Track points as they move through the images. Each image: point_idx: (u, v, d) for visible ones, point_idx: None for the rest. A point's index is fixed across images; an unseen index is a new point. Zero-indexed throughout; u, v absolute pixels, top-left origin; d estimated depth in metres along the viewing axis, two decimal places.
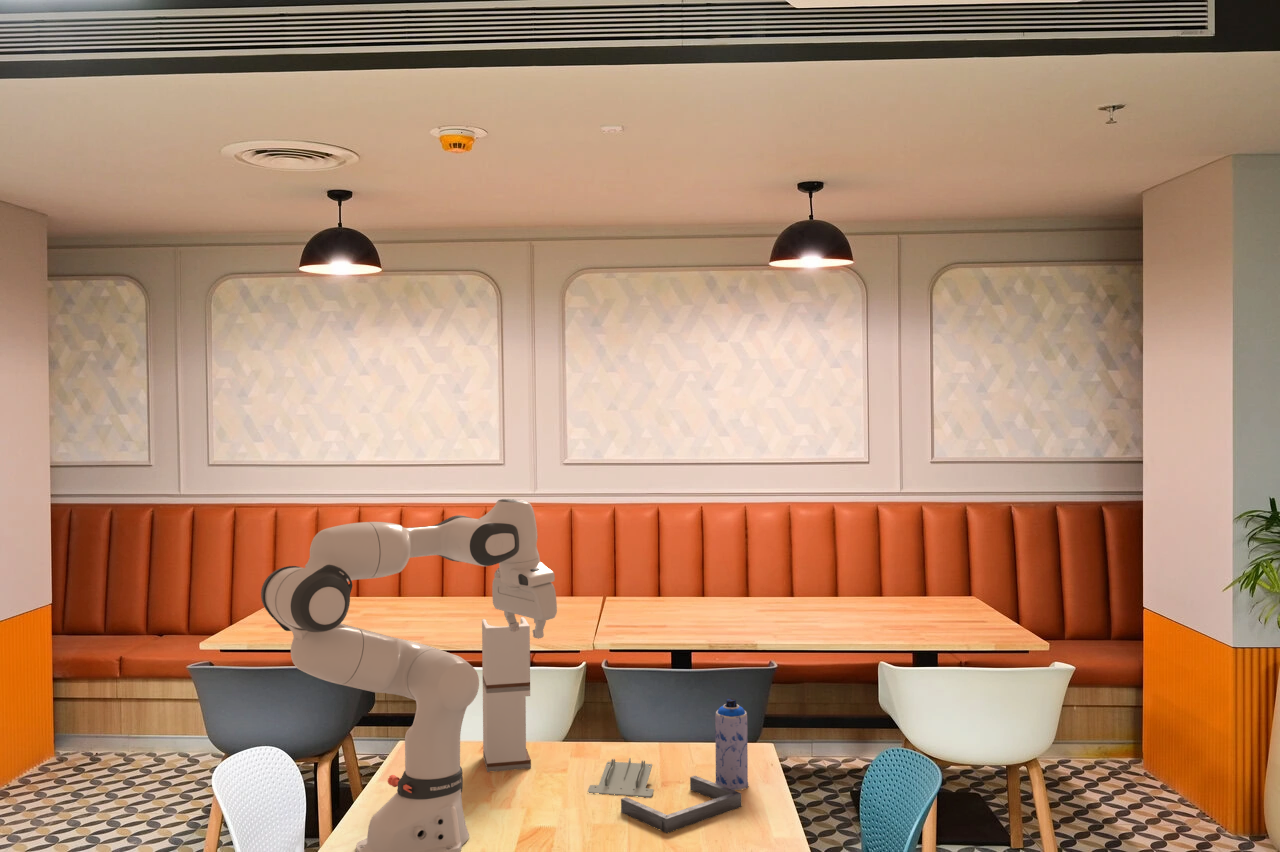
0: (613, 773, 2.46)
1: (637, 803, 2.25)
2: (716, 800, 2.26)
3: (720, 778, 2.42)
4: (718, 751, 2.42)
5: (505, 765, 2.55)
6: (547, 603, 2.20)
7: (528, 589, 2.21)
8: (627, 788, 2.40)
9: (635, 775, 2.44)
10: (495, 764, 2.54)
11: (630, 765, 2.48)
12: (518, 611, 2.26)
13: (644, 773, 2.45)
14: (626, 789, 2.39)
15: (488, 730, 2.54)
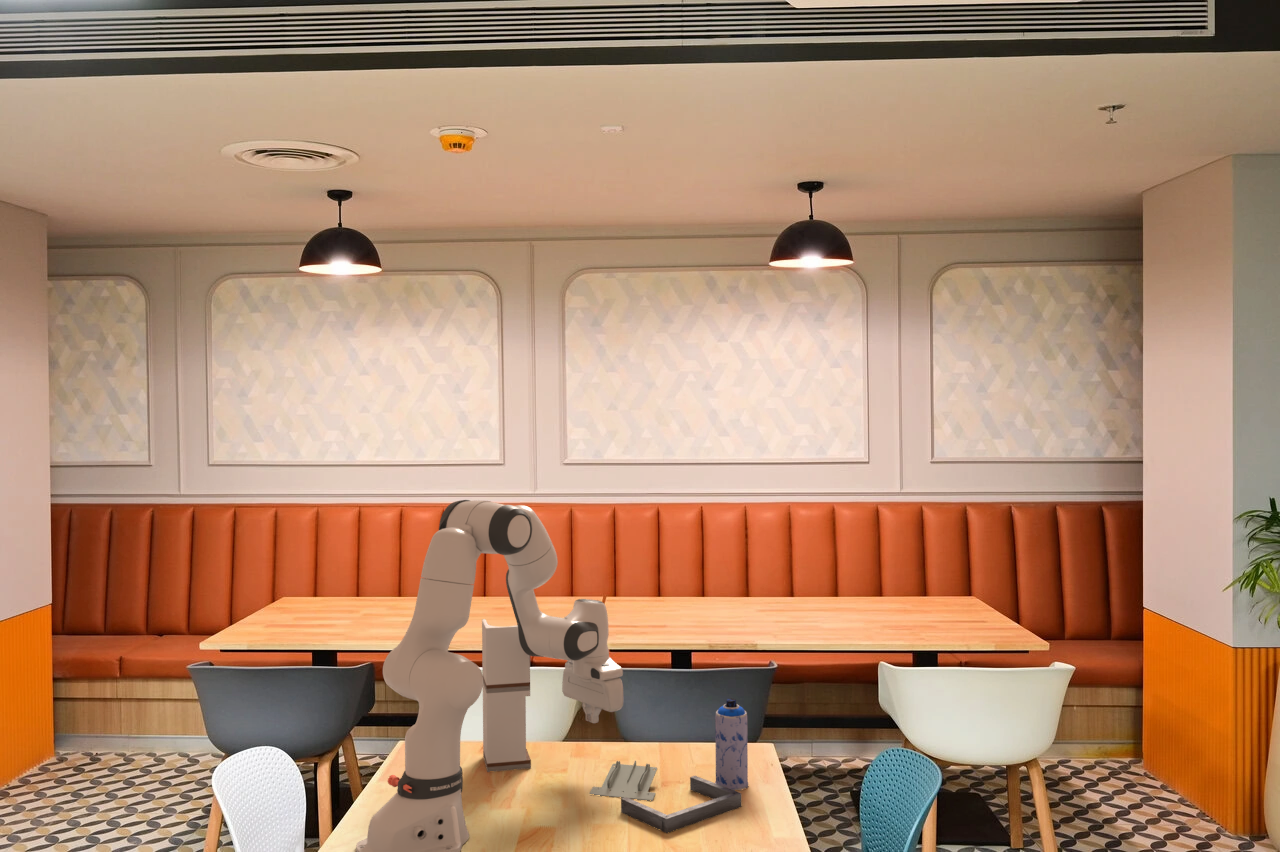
0: (617, 775, 2.44)
1: (637, 803, 2.25)
2: (716, 800, 2.26)
3: (720, 778, 2.42)
4: (718, 751, 2.42)
5: (505, 765, 2.55)
6: (615, 696, 2.46)
7: (599, 682, 2.47)
8: (629, 791, 2.38)
9: (639, 778, 2.43)
10: (495, 764, 2.54)
11: (635, 768, 2.47)
12: (587, 700, 2.52)
13: (648, 776, 2.43)
14: (628, 792, 2.38)
15: (488, 730, 2.54)
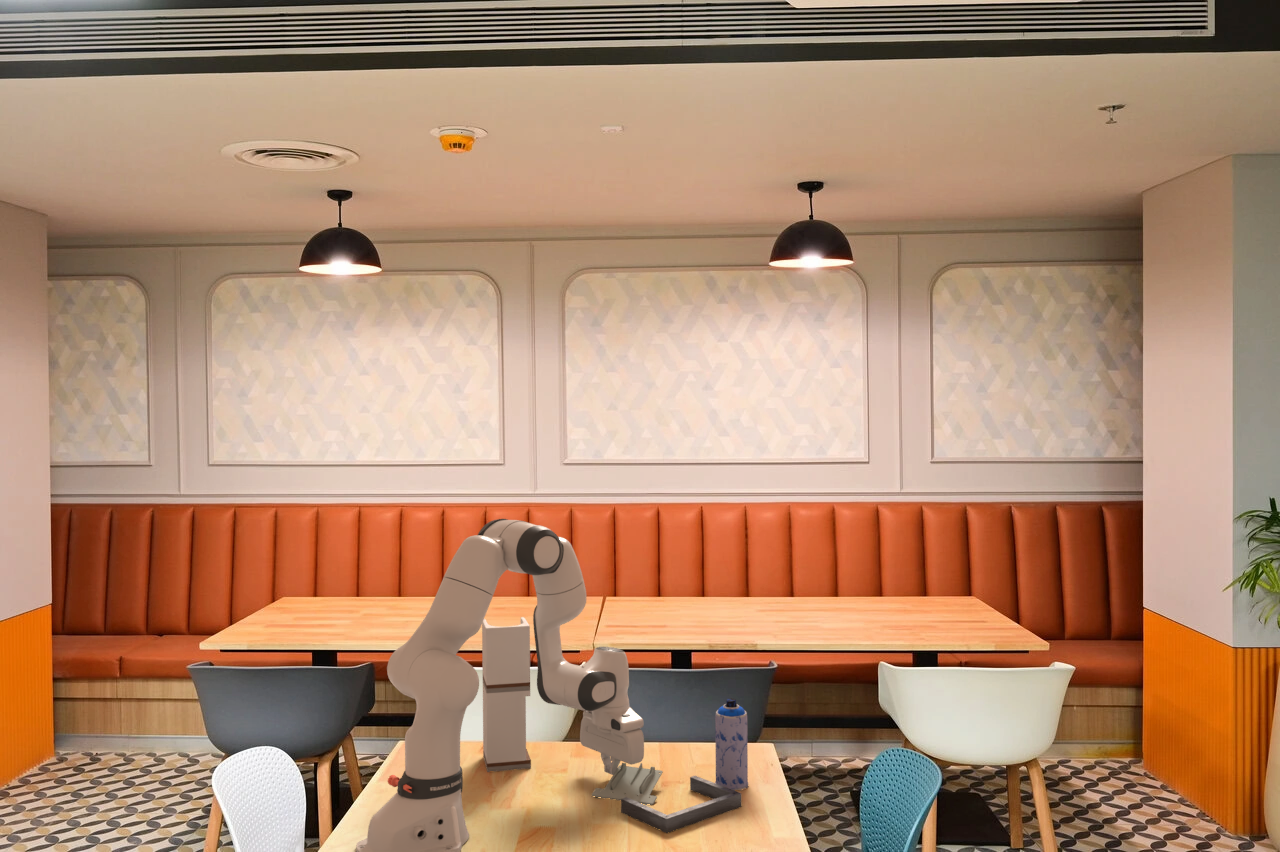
0: (622, 777, 2.43)
1: (637, 803, 2.25)
2: (716, 800, 2.26)
3: (720, 778, 2.42)
4: (718, 751, 2.42)
5: (505, 765, 2.55)
6: (636, 748, 2.40)
7: (619, 734, 2.41)
8: (631, 794, 2.36)
9: (643, 781, 2.41)
10: (495, 764, 2.54)
11: (640, 770, 2.45)
12: (606, 752, 2.46)
13: (652, 779, 2.41)
14: (630, 794, 2.36)
15: (488, 730, 2.54)
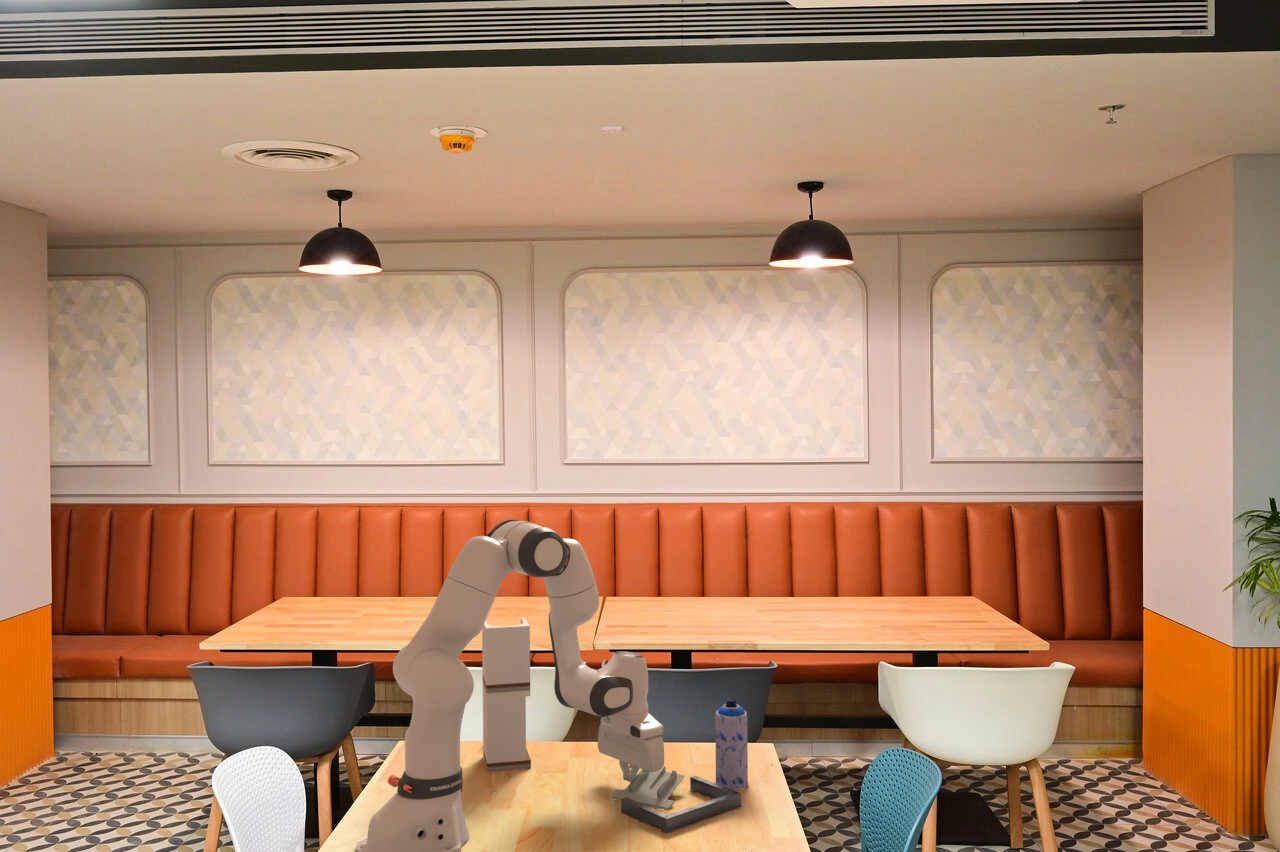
0: (643, 780, 2.41)
1: (637, 803, 2.25)
2: (716, 800, 2.26)
3: (720, 778, 2.42)
4: (718, 751, 2.42)
5: (505, 765, 2.55)
6: (656, 756, 2.35)
7: (639, 741, 2.36)
8: (649, 797, 2.34)
9: None
10: (495, 764, 2.54)
11: (663, 774, 2.42)
12: (625, 759, 2.41)
13: (672, 784, 2.38)
14: (647, 798, 2.34)
15: (488, 730, 2.54)
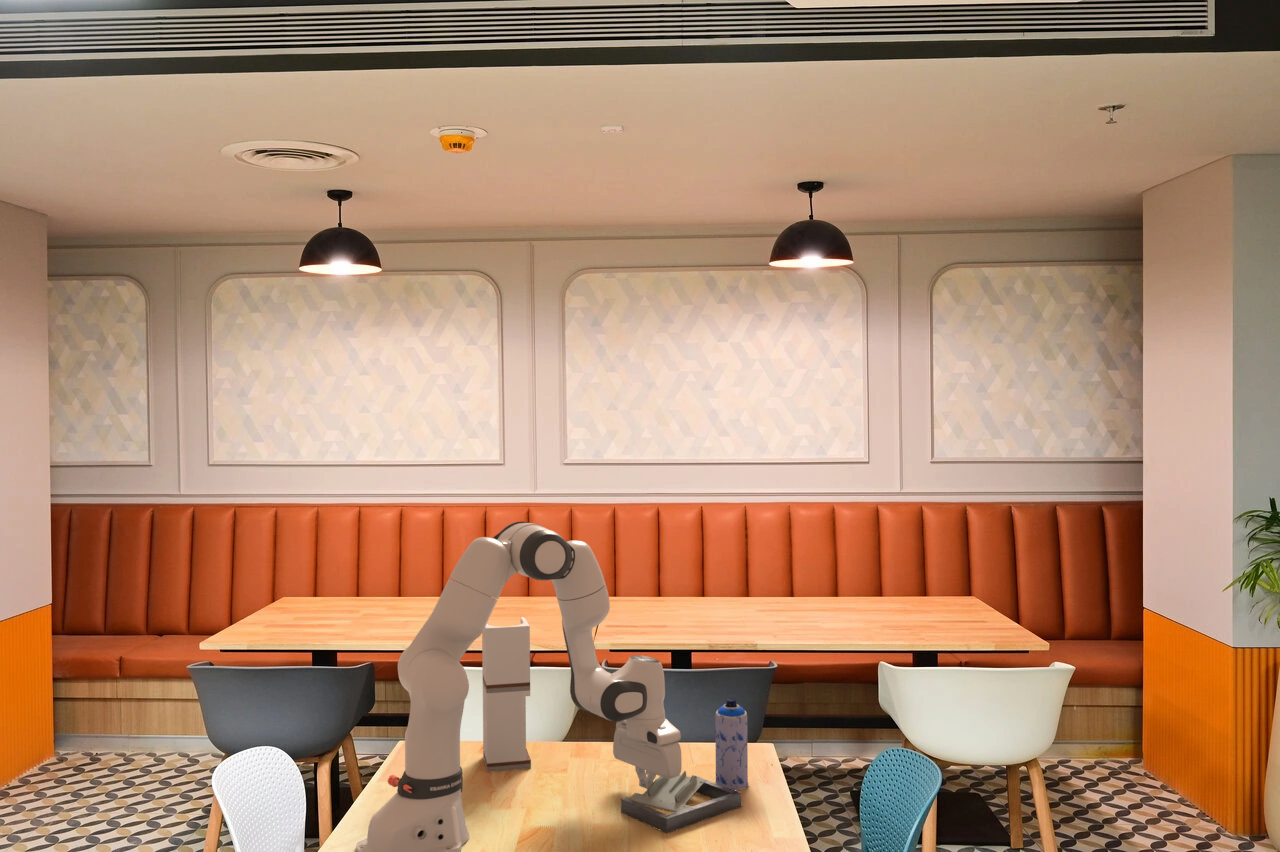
0: (663, 784, 2.38)
1: (637, 803, 2.25)
2: (716, 800, 2.26)
3: (720, 778, 2.42)
4: (718, 751, 2.42)
5: (505, 765, 2.55)
6: (674, 762, 2.30)
7: (656, 747, 2.31)
8: (667, 801, 2.31)
9: None
10: (495, 764, 2.54)
11: (683, 778, 2.39)
12: (641, 765, 2.37)
13: (692, 789, 2.34)
14: (665, 802, 2.31)
15: (488, 730, 2.54)
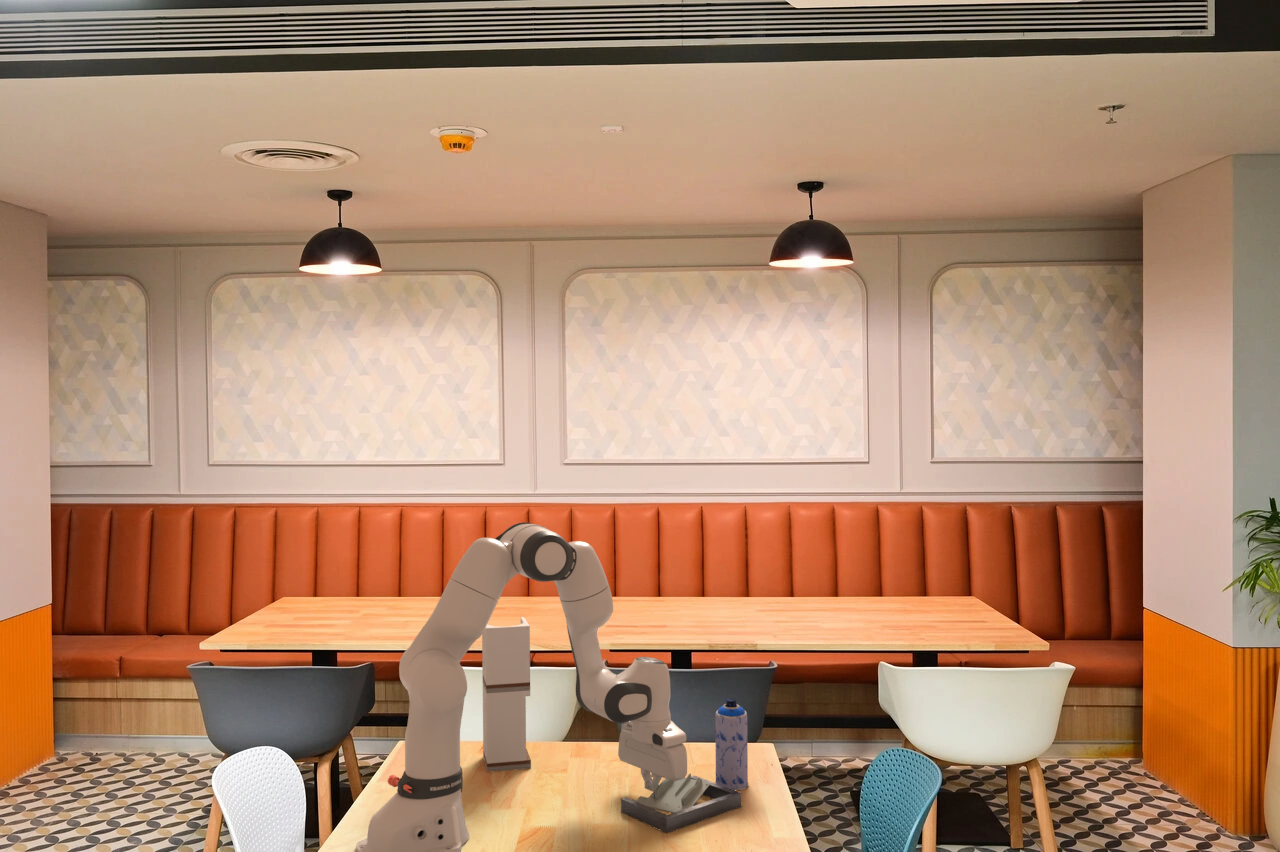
0: (668, 787, 2.36)
1: (637, 803, 2.25)
2: (716, 800, 2.26)
3: (720, 778, 2.42)
4: (718, 751, 2.42)
5: (505, 765, 2.55)
6: (679, 764, 2.29)
7: (661, 749, 2.30)
8: (673, 804, 2.30)
9: None
10: (495, 764, 2.54)
11: (688, 781, 2.37)
12: (647, 767, 2.35)
13: (697, 791, 2.33)
14: (672, 805, 2.29)
15: (488, 730, 2.54)
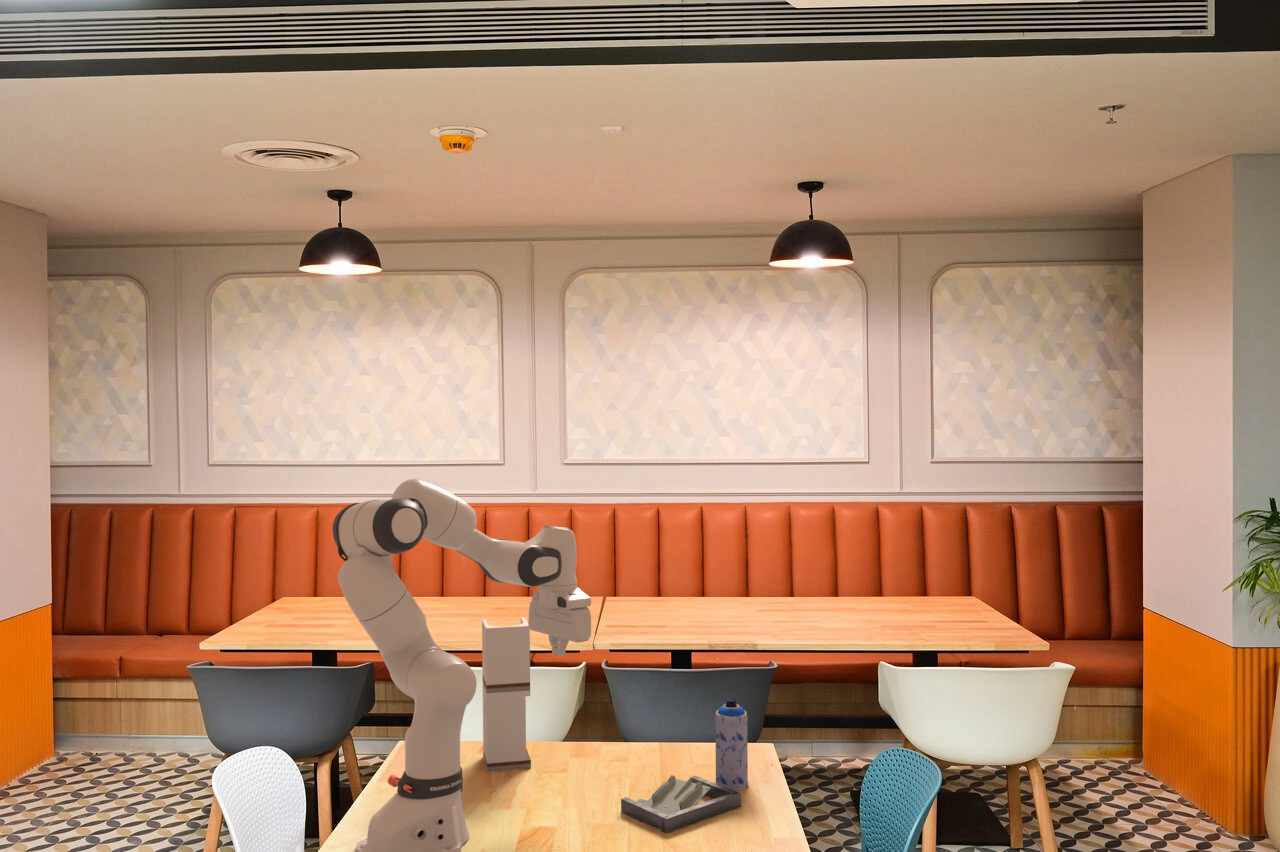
0: (668, 790, 2.34)
1: (637, 803, 2.25)
2: (716, 800, 2.26)
3: (720, 778, 2.42)
4: (718, 751, 2.42)
5: (505, 765, 2.55)
6: (583, 626, 2.34)
7: (566, 611, 2.34)
8: (671, 808, 2.28)
9: None
10: (495, 764, 2.54)
11: (689, 785, 2.35)
12: (553, 632, 2.40)
13: (697, 795, 2.31)
14: (669, 809, 2.27)
15: (488, 730, 2.54)
